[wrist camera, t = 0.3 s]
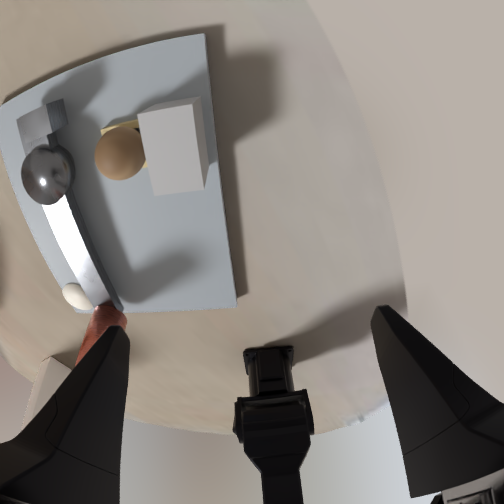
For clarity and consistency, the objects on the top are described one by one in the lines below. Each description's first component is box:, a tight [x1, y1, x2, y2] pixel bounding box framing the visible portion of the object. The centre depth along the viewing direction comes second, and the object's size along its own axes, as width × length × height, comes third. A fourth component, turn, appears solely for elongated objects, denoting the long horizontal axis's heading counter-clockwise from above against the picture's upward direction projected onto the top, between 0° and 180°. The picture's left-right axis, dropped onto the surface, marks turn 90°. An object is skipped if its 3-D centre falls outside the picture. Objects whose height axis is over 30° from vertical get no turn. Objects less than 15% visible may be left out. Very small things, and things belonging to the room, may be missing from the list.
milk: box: [21, 357, 72, 431], centre depth 30 cm, size 6×6×22 cm
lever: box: [16, 98, 127, 366], centre depth 17 cm, size 5×22×8 cm, turn 4°
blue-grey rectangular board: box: [0, 33, 237, 313], centre depth 19 cm, size 24×19×5 cm
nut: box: [94, 126, 146, 180], centre depth 16 cm, size 4×4×4 cm
